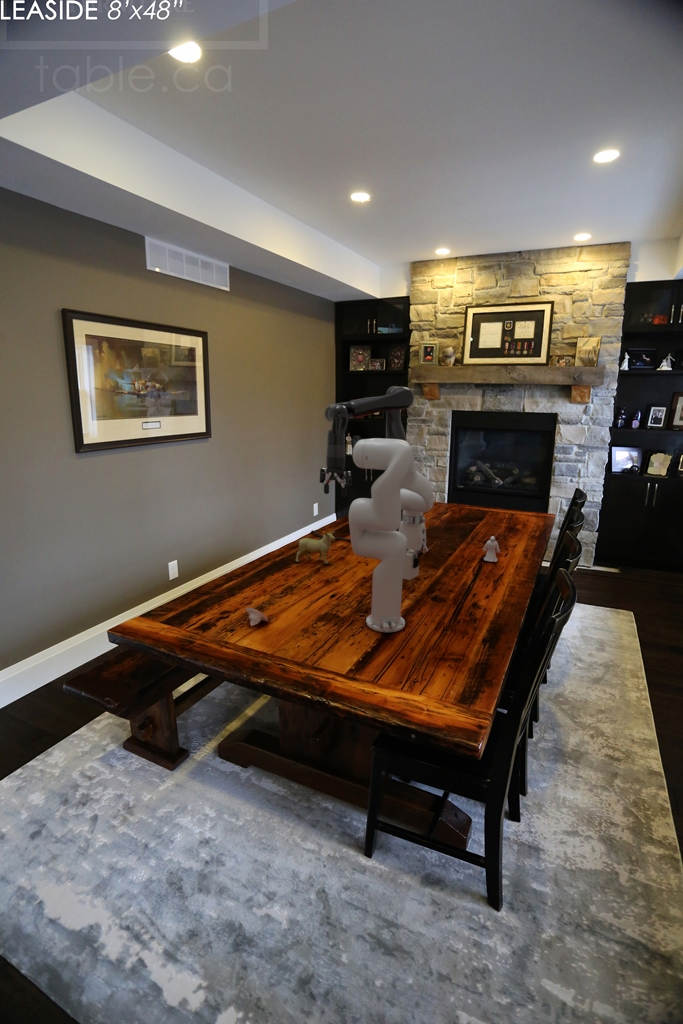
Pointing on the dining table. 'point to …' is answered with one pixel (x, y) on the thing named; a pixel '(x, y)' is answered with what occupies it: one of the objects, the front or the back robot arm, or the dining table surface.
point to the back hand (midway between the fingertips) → (335, 495)
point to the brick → (409, 566)
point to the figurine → (491, 550)
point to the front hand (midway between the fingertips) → (409, 565)
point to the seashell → (255, 616)
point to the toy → (315, 546)
